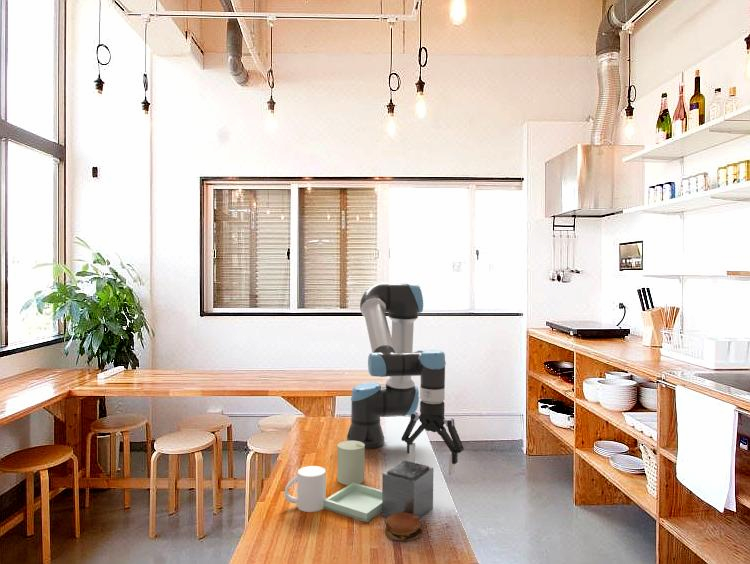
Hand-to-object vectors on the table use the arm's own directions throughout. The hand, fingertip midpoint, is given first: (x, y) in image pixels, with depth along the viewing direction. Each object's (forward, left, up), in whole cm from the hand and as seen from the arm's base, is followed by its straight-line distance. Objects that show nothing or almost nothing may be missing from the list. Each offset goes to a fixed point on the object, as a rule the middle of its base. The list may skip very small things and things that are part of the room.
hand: (431, 468), depth 161 cm
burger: (+26, +5, -8) cm, 28 cm away
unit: (+15, 0, -8) cm, 17 cm away
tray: (+19, -14, -8) cm, 25 cm away
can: (+5, -27, -8) cm, 29 cm away
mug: (+28, -27, -8) cm, 40 cm away
